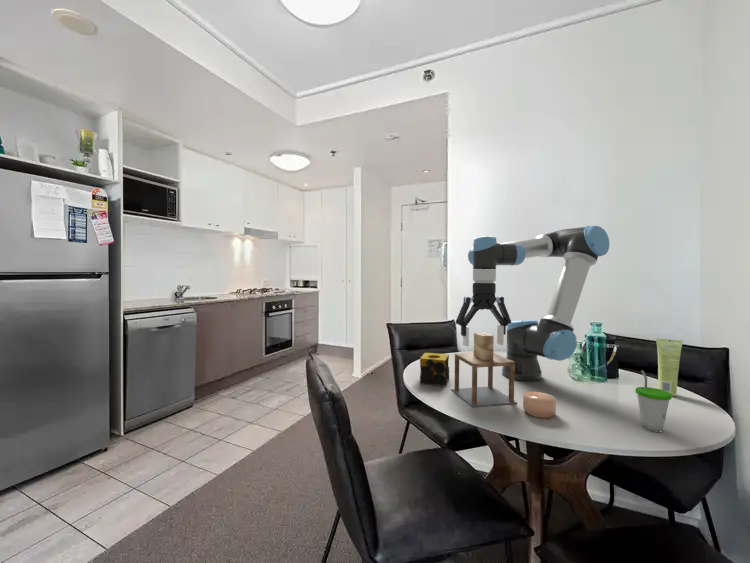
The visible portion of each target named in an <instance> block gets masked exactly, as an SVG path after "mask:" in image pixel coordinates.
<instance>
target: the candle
mask: <svg viewBox="0 0 750 563" xmlns="http://www.w3.org/2000/svg"><path fill="white" fill-rule="evenodd" d="M449 359H450V354H447V353H446V354H445V353H437V352H436V353H434V352H424V353H423V354H422V355H421V356H420V358H419V367H420V372H419V373H420V376H419V383H420V384H424V385H432V386H433V385H434V386H441V387H445V386H447V384H448V382H449V380H450V367H449Z"/></svg>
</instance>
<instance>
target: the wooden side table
mask: <svg viewBox="0 0 750 563" xmlns="http://www.w3.org/2000/svg"><path fill="white" fill-rule="evenodd" d="M494 341H495V340H494V335H493V334H490V333H487V332H473V352H457V353H455V352H454V388H453V389H454V390H455V391H459V389H460V361H462V362H463V363H465V364H466V365H468V366H470V367H471V388H472V404H473V405H477V387H478V368H487V387H488V388H494V387H493V385H494V384H493V381H494V375H493V374H494V367H503V366H509V378H508V397H509V401H510V402H514V401H515V379H514V371H515V362H514V361H512V360H509V359H507V358H506V357H505V356H502V355H499V354H498V353H495V352H494V346H495V345H494Z"/></svg>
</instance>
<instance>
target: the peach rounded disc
mask: <svg viewBox="0 0 750 563" xmlns="http://www.w3.org/2000/svg"><path fill="white" fill-rule="evenodd" d="M522 397H523V399H522V401H523V402H522V409H523V410H524V411H525V412H526V413H527V414H528V415H529V416H532V417H535V418H540V419H541V418H542V419H548V418H549V419H550V418H551V417H553V416H555V415H556V414H557V398H556V397H555V396H554V395H551V394H549V393H546V392H540V391H527V392H524V393H523V395H522Z"/></svg>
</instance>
